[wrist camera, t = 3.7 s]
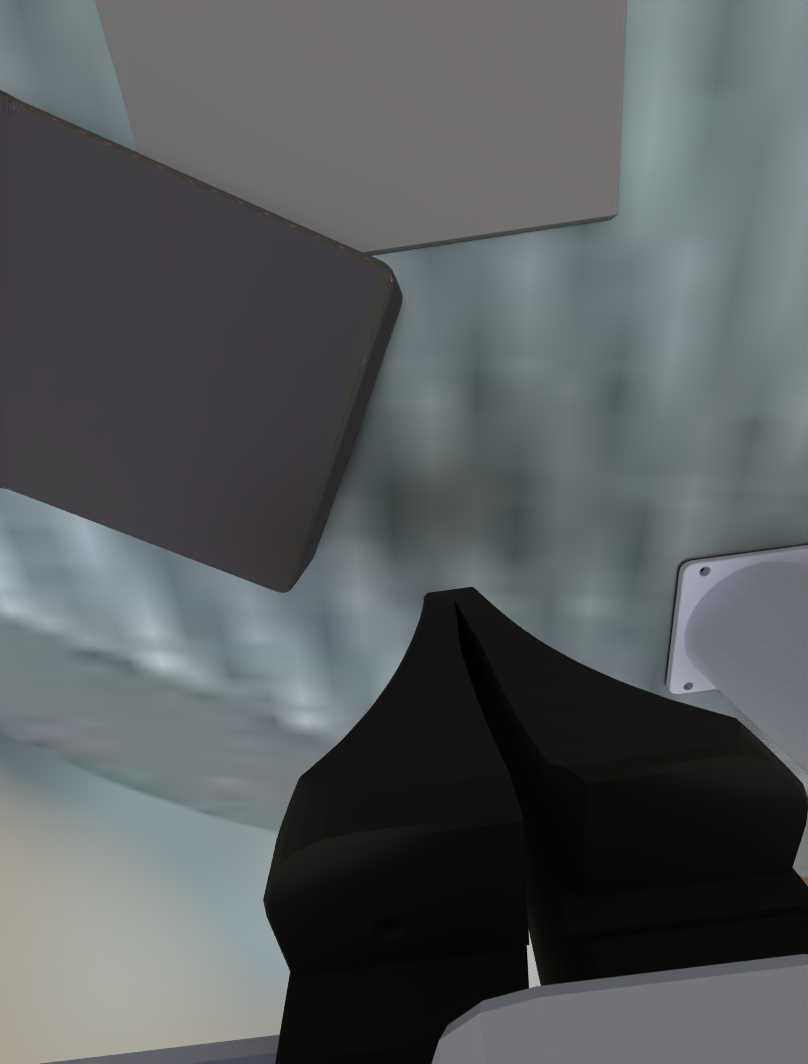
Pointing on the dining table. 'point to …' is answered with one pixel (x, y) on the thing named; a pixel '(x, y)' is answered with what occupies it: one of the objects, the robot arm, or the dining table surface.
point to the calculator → (176, 352)
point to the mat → (383, 110)
